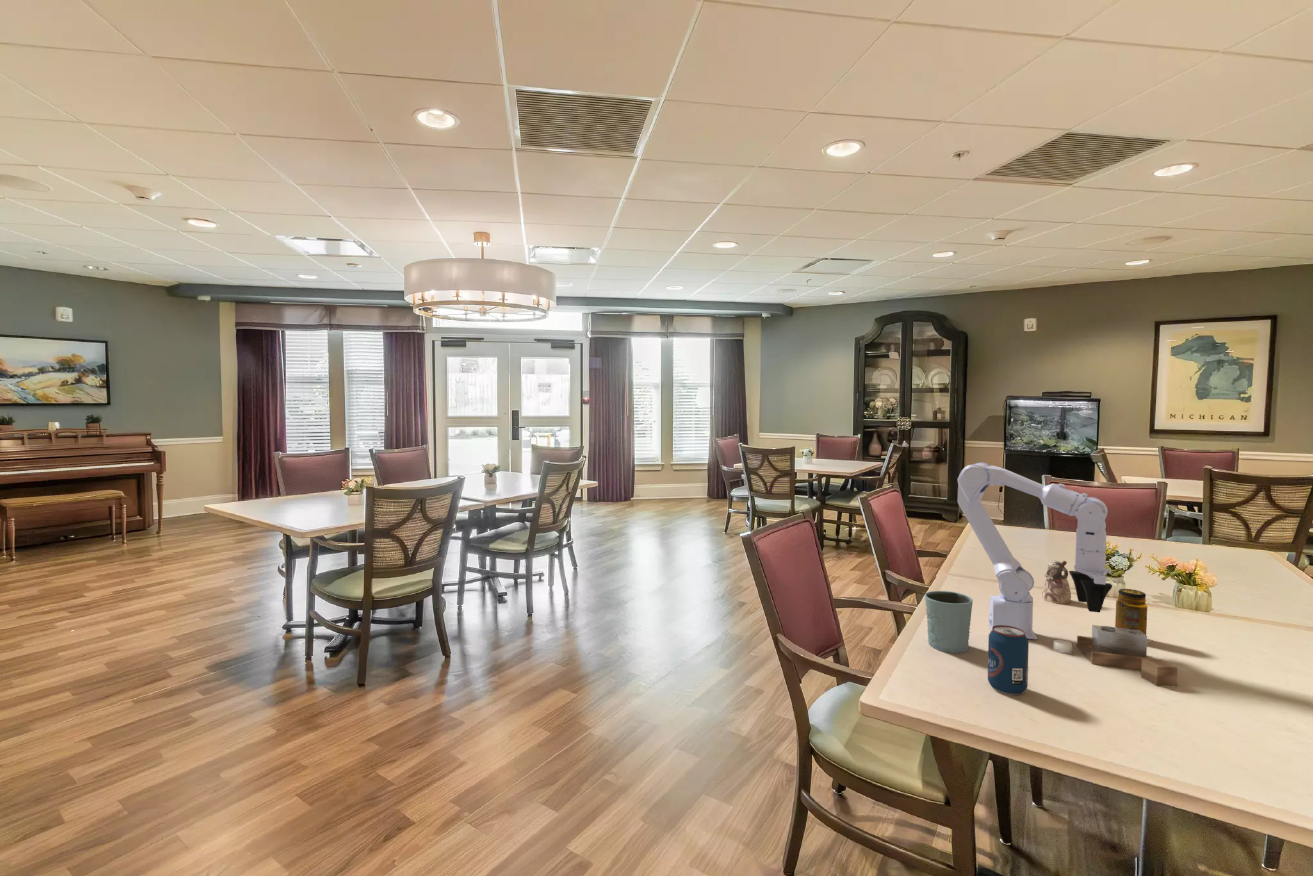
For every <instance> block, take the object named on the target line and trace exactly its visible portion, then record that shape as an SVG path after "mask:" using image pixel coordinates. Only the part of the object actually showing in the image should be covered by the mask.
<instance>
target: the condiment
mask: <svg viewBox="0 0 1313 876" xmlns="http://www.w3.org/2000/svg"><path fill="white" fill-rule="evenodd" d="M1146 597H1147V595H1146V593H1145V592H1143V591H1141V590H1139V589H1138V590H1136V589H1133V588H1132V589H1131V588H1120V589H1118V596H1117V600H1116V601H1115V619H1114V620H1115V621H1114V627H1116V628H1126V629H1135V630H1140V631H1142V632H1143V633H1144V634H1145V635H1146V636H1147V627H1148V622H1147V621H1148V605H1147V603H1146V601H1147V599H1146ZM1151 642H1153V639H1150V638H1147V645H1148V644H1149V643H1151Z"/></svg>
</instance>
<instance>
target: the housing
mask: <svg viewBox="0 0 1313 876" xmlns="http://www.w3.org/2000/svg"><path fill="white" fill-rule="evenodd" d="M1091 637H1092V649H1093V650H1094V651H1095V652H1103V653H1111V654H1120V655H1128V656H1136V657H1145V658H1146V656H1147V653H1148V652H1147V649H1148V644H1147V639H1148V635H1147V634H1146V635H1145V634H1144V633H1143V632H1142V631H1140V630H1135V629H1126V628H1116V627H1115V626H1108V625H1097V624H1092V625H1091Z"/></svg>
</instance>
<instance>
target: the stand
mask: <svg viewBox="0 0 1313 876" xmlns="http://www.w3.org/2000/svg"><path fill="white" fill-rule="evenodd" d="M1076 636H1077V637H1076V646H1077V648H1078V649H1079V650H1080V651H1081V653H1082V654H1083V655H1084V656H1085V657H1086V659H1087V660H1089V662H1090V663H1091V664H1092V665H1098V666H1107V667H1116V668H1122V669H1123V668H1124V669H1130V670H1138V671H1141V669H1142V659H1154V658H1151V657H1148V656H1147V655H1146V658H1145V657H1136V656H1128V655H1120V654H1111V653H1103V652H1095V651H1094V650H1093V649H1092V636H1085V635H1084V636H1083V635H1076Z"/></svg>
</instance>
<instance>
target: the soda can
mask: <svg viewBox="0 0 1313 876" xmlns="http://www.w3.org/2000/svg"><path fill="white" fill-rule="evenodd" d="M987 647H988V650H987V682H988V683H989V685H990V686H991V688H992V689H993V690H995V691H997V692H998V693H1002V694H1003V695H1004V694H1005V695H1009V696H1020V695H1021V696H1022V695H1023V693H1024V692H1026V690H1027V688H1028V683H1029V682H1028V679H1029V675H1028V674H1029V640H1028V639H1027V638H1026V636H1025V632H1024V631H1023V630H1021V629H1019V628H1016V627H1012V626H1006V625H996V626H993V627H992V630H990V632H989V634H988V646H987Z"/></svg>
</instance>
